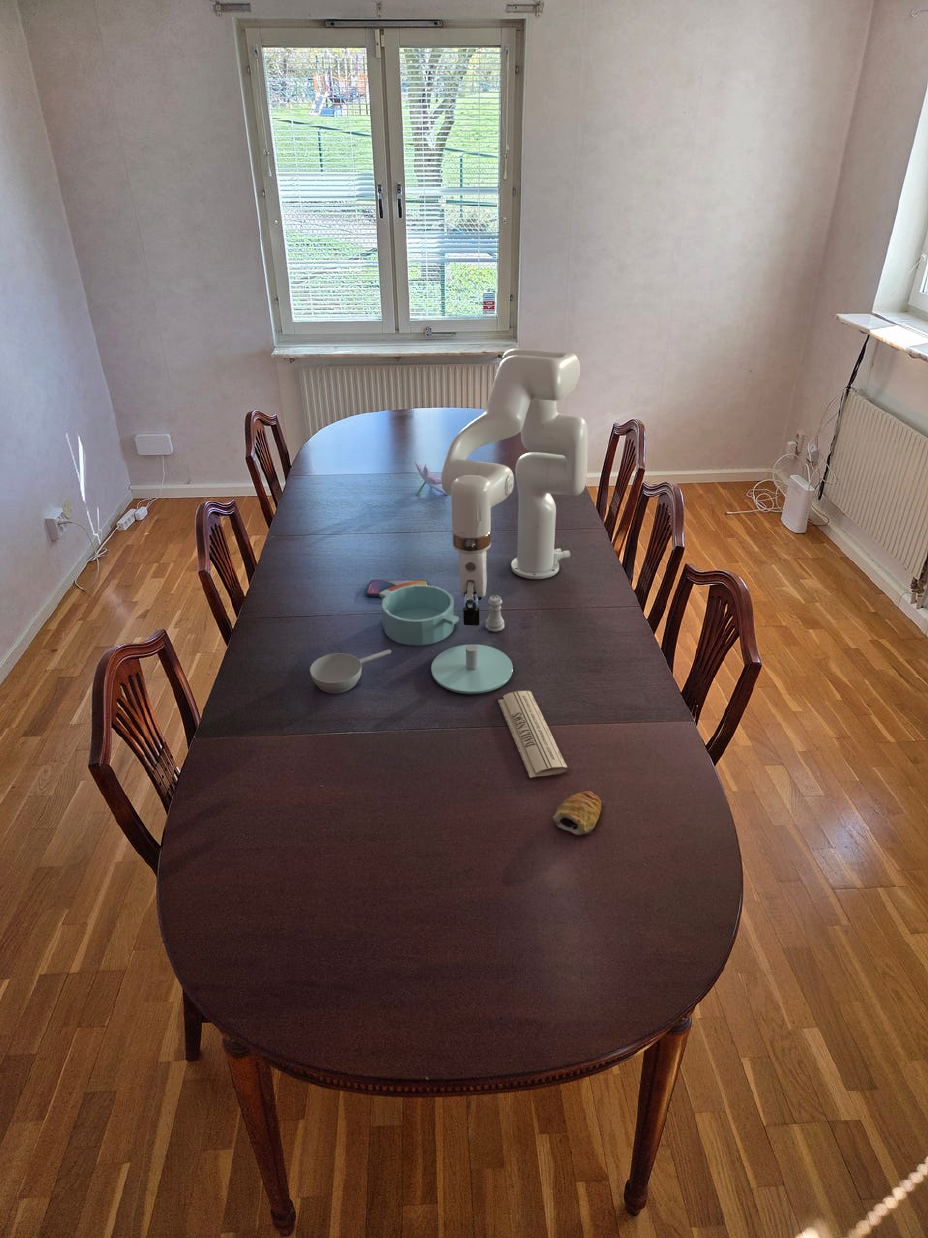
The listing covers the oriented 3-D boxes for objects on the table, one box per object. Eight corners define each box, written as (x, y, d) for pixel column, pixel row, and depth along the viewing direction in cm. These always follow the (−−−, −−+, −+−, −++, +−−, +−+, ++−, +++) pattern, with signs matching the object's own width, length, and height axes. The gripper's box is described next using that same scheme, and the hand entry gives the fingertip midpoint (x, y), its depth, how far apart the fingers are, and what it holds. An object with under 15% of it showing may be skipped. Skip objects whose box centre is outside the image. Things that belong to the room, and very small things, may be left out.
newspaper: (567, 772, 149) (567, 764, 148) (530, 778, 148) (530, 771, 147) (531, 696, 169) (531, 689, 168) (497, 701, 168) (497, 694, 167)
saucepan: (305, 674, 176) (303, 660, 174) (382, 652, 183) (381, 638, 181) (321, 701, 168) (319, 686, 166) (401, 677, 175) (400, 662, 173)
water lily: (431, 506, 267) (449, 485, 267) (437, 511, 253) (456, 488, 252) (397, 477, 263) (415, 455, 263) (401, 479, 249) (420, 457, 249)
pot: (406, 597, 204) (404, 575, 200) (477, 625, 193) (477, 601, 189) (360, 626, 193) (358, 603, 189) (433, 657, 181) (432, 633, 178)
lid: (463, 640, 187) (463, 617, 184) (528, 666, 178) (529, 642, 175) (414, 677, 175) (413, 653, 172) (481, 706, 166) (481, 682, 163)
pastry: (576, 792, 145) (577, 776, 143) (610, 808, 142) (612, 792, 140) (549, 825, 138) (551, 809, 136) (585, 842, 135) (587, 826, 133)
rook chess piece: (492, 620, 194) (492, 591, 190) (508, 626, 192) (508, 596, 188) (481, 628, 191) (481, 599, 187) (497, 634, 189) (498, 605, 185)
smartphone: (371, 582, 211) (371, 579, 210) (429, 583, 209) (428, 579, 209) (365, 597, 205) (365, 593, 204) (425, 598, 203) (425, 594, 203)
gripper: (489, 559, 153) (489, 635, 162) (492, 518, 167) (492, 590, 177) (449, 559, 153) (451, 634, 163) (455, 518, 168) (457, 590, 177)
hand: (472, 611), depth 170 cm, fingers open, 9 cm apart
